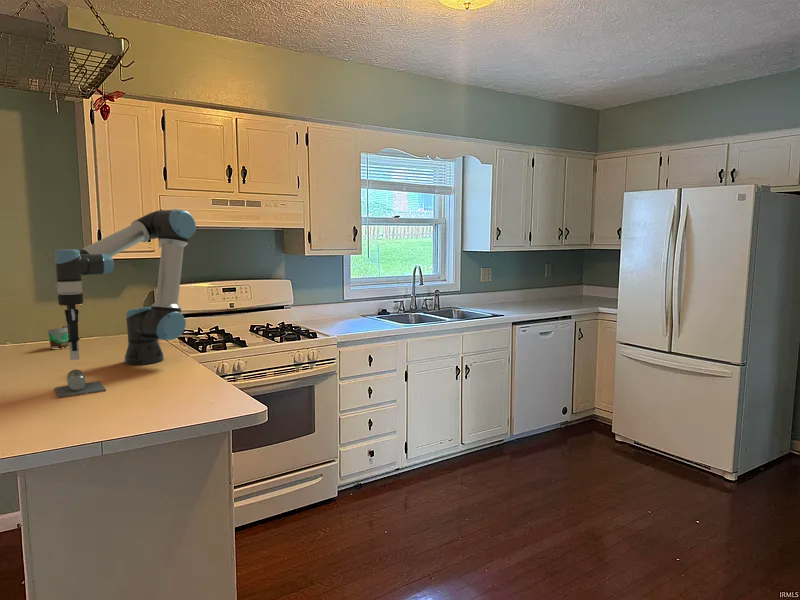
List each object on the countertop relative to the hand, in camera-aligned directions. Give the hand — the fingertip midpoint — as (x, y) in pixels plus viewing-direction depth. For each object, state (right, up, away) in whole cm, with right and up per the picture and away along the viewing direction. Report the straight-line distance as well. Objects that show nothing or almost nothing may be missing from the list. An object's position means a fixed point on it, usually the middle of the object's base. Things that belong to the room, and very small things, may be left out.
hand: (74, 359), depth 198 cm
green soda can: (-1, -6, +2) cm, 6 cm away
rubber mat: (+5, -10, -5) cm, 12 cm away
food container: (-48, -2, +72) cm, 86 cm away
